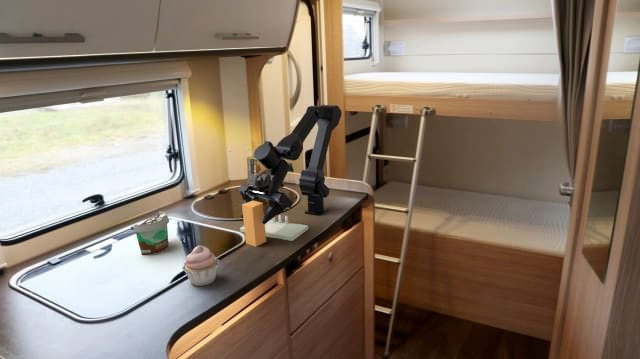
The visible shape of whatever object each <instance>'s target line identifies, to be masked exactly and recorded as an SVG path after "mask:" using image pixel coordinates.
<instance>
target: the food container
mask: <svg viewBox="0 0 640 359" xmlns="http://www.w3.org/2000/svg"><path fill="white" fill-rule="evenodd" d="M169 222H170V218H169V216H168V215H167V214H166V212H164V211H158V214H157V215H155V216H154V217H151V218H148V219H146V220H145V221H144V222H142V223H141V224H133V233H135V235H136V238H137V242H138V246H139V247H138V248H139V249H140V254H141V255H142V256H149V255H155V254H160V253H162V252H164V251H166V250H167V249H168V248H169V231H168V224H169Z"/></svg>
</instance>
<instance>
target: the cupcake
mask: <svg viewBox="0 0 640 359" xmlns="http://www.w3.org/2000/svg"><path fill="white" fill-rule="evenodd" d="M219 262H220V259H217V257H216V256H215V254H214V253H213V252H211V250H210V249H209V248H208V247H206V246H203V245H198V246H195V247H194V248H193V249H192V251H191V253H190V252H189V254H187V256H186V257H185V262H184V263H183V266H182V267H181V269H182V270H183V271H184V272H185V274H186V276H187V278H188V280H189V282H190V284H191V285H192V286H194V287H203V286H204V287H205V286H207V285H210V284H212V283H214V281H215V280H216V277H217V276H216V275H217V268H218V267H219Z"/></svg>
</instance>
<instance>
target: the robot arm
mask: <svg viewBox="0 0 640 359" xmlns="http://www.w3.org/2000/svg"><path fill="white" fill-rule="evenodd" d="M341 117H342V109H341V108H340V106H339V105H337V104H336V105H335V104H334V105H333V104H322V105H309V106H307V108H306V110H305V112H304V114H303V116H302V117H301V119H300V120H299V121H298V122H297V124H296V125H295V126H294V128H293V130H292V131H291V133H290V134H288V135H286V136H284V137H283V138H282V139H281V140H280V141H278V143H277V144H276V145H273V142H271V141H268V140H265V141H264V142H263V143H262V144H261V145H259V146H258V147H256V148H255V149H254V152H253V157H254V159H255V160H256V161H257V162H259V163H260V165H262V166H263V167H264V168H265V170H267V172H266V173H263V174H261V176H260V175H257V174H252V173H248V175H247V180H246V184H245V183H244V184H240V186H239V188H238V190H237V191H238V192H239V195H241V197H242V205H243V204H245V203H248V202H250V201H257V200H259V198H260V199H263V200H267V201H268V208H267V210H266V212H265V213H264V218H263V221H262V223H263V224H266V223H267V222H268V221H270V220H272V218H274V217H275V218H276V216H278V215H280V214H281V213H282V212H286V211H287V209H288V210H291V208H292V206H293V199H292V198H291V197H290V196H288V195H287V194H286V193H285V192H282V191H279V190H280V188H282V189H283V188H284V186H285V184H284V183H283V182H284V181H285V178H286V176H287V174H288V173H294V171H295V170H294V167H293V163H291V162H288V161H292V162H293V161H297V160H298V159H299V158H300V156H301V155H302V152H303V150H304V143H305V140H306V139H307V137H308V136H309V135H310V133H311V131H312V130H313V129H314V127H315V126H316V124H317V132H316V135H315V139H314V144H313V149H312V152H311V155H310V161H309V164H308V167H307V168H306V169H301V172H300V177H299V179H298V181H299V182H298V186H299V189H300V193H301V195H302V196H305V197H306V196H307V197H306V198H307V209H306V210H305V211H304V214H306V215H307V214H308V215H315V216H322V215H323V214H325V213H326V212H327V211H329V208H328V207H325V198H328V196H330V188H329V187H328V185H326V184H325V180H326V177H325V173H324V171H323V170H324V165H325V161H326V157H327V152H328V149H329V145H330V141H331V137H332V132H333V131H334V130H335V129H336V128H337V127H338V125H339V123H340V121H341ZM240 217H241V218H242V219H243V210H242V209H241V214H240Z"/></svg>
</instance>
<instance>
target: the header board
mask: <svg viewBox="0 0 640 359" xmlns="http://www.w3.org/2000/svg"><path fill="white" fill-rule="evenodd" d="M277 216H278V220H276V216H275V217H274V218H272V219H271V220H270V221H268V222H267V223H266V224H265V232H266V238H267V237H268V238H272V239H273V238H274V239H279V240H285V241H290V242H293V241H295V240H296V239H298V237H300V236H301V235H302V234H304V233H306V231H308V230H309V225H307V224H306V225H305V224H301V223H292V222H289V217H288V215H285V216H284V221H283V219H282V217H283V216H282V214H278V215H277ZM239 232H241V233H245V229H244V225H243V226H241V227H239Z"/></svg>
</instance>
